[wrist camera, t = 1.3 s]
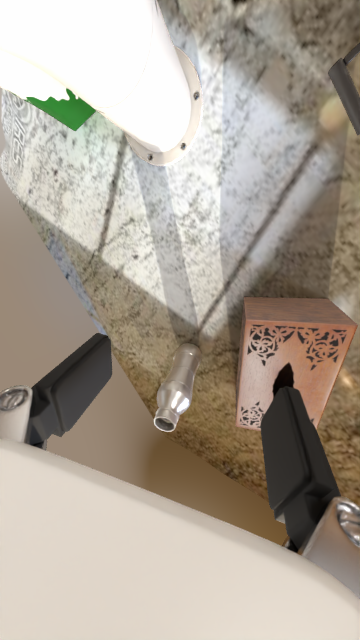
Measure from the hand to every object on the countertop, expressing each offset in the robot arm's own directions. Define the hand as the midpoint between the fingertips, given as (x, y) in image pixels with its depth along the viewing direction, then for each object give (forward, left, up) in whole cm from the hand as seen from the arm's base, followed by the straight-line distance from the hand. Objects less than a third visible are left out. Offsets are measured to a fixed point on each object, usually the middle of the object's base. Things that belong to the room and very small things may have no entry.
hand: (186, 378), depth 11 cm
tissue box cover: (+22, -2, -31) cm, 38 cm away
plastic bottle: (+12, -18, -31) cm, 38 cm away
